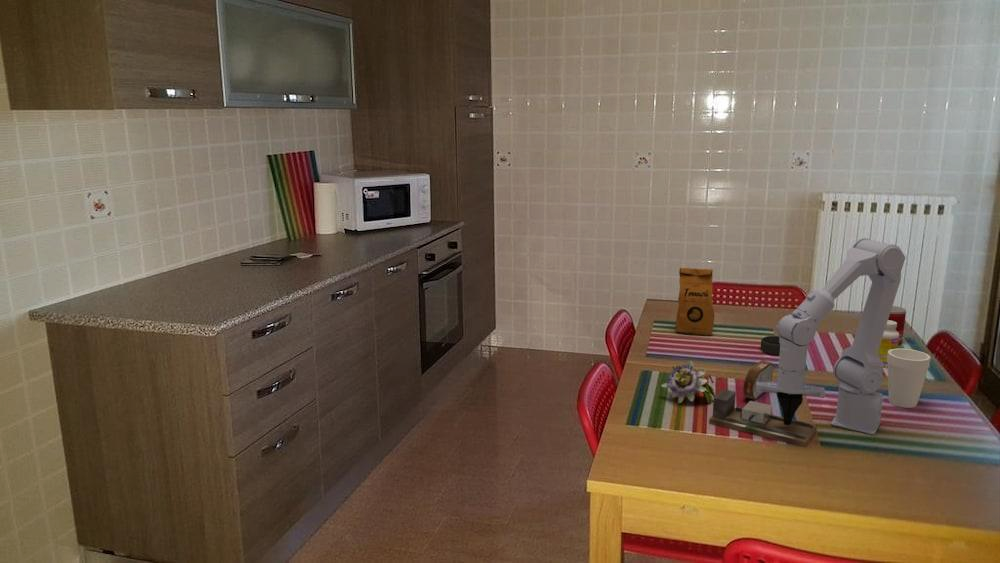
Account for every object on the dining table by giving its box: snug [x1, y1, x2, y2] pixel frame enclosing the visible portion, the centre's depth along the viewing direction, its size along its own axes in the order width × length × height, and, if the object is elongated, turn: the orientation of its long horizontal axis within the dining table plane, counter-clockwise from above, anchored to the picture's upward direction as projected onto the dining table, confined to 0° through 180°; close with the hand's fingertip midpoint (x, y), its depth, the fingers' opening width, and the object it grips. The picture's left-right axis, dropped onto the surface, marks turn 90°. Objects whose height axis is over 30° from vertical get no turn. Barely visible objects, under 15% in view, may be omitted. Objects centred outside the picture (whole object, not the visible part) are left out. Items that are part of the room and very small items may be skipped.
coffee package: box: [675, 267, 715, 336], centre depth 244 cm, size 10×12×22 cm
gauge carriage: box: [740, 400, 772, 425], centre depth 173 cm, size 6×8×3 cm
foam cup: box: [887, 348, 932, 409], centre depth 186 cm, size 10×9×13 cm
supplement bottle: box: [877, 320, 899, 368], centre depth 214 cm, size 7×7×13 cm
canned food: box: [888, 305, 907, 346], centre depth 234 cm, size 8×8×11 cm
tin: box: [742, 359, 774, 400], centre depth 193 cm, size 15×3×8 cm, turn 141°
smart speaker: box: [760, 335, 780, 356], centre depth 227 cm, size 9×9×4 cm
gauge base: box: [708, 388, 818, 447], centre depth 173 cm, size 22×10×6 cm, turn 54°
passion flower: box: [660, 360, 716, 404], centre depth 190 cm, size 11×11×12 cm
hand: (786, 423), depth 170 cm, fingers closed
